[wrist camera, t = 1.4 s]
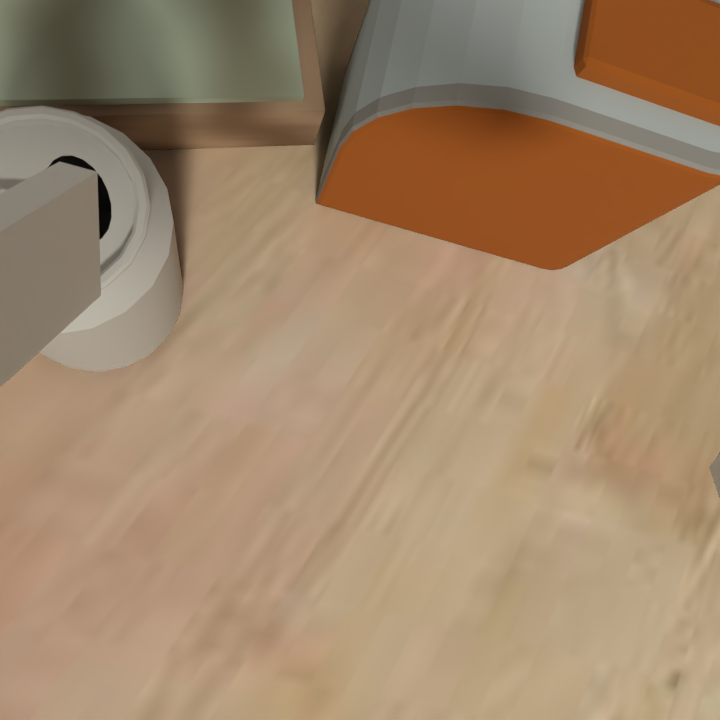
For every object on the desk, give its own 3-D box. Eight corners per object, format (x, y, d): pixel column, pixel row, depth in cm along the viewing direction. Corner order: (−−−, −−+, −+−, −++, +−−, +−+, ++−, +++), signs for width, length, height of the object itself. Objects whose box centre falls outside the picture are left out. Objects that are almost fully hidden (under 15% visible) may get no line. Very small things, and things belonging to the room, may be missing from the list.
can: (206, 343, 32) (205, 279, 21) (45, 397, 30) (-55, 360, 19) (153, 198, 33) (122, 56, 21) (-9, 243, 31) (-140, 114, 19)
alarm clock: (596, 140, 39) (794, -22, 26) (575, 279, 37) (774, 182, 24) (348, 58, 36) (428, -170, 23) (314, 204, 35) (379, 49, 21)
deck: (287, -51, 36) (297, -112, 32) (313, 144, 35) (327, 105, 31) (-139, -66, 32) (-187, -140, 28) (-126, 158, 30) (-175, 114, 26)
